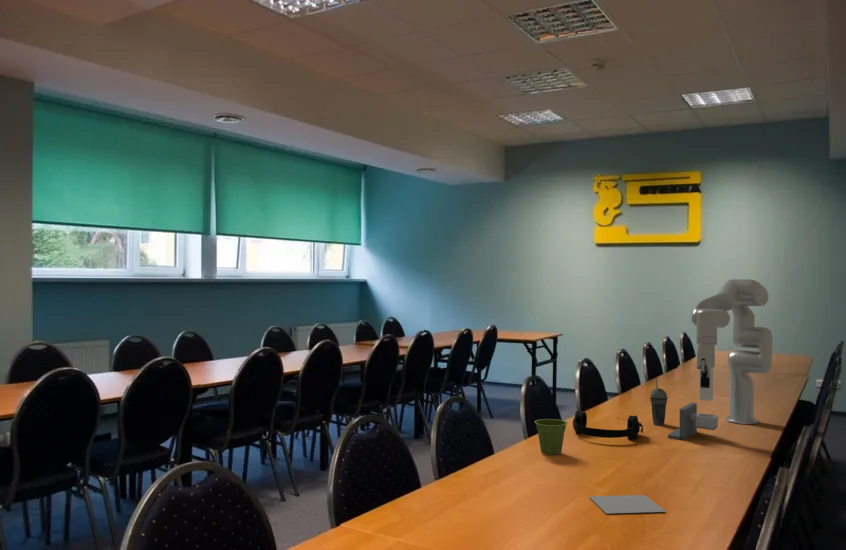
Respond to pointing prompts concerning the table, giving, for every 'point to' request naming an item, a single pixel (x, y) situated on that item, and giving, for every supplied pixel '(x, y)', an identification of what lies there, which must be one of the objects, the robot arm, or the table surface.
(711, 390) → the rail
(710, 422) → the bracket
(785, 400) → the table surface
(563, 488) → the table surface
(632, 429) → the headset
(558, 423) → the plant pot
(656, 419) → the beverage cup
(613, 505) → the grey flat square slab
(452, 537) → the table surface
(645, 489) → the table surface
